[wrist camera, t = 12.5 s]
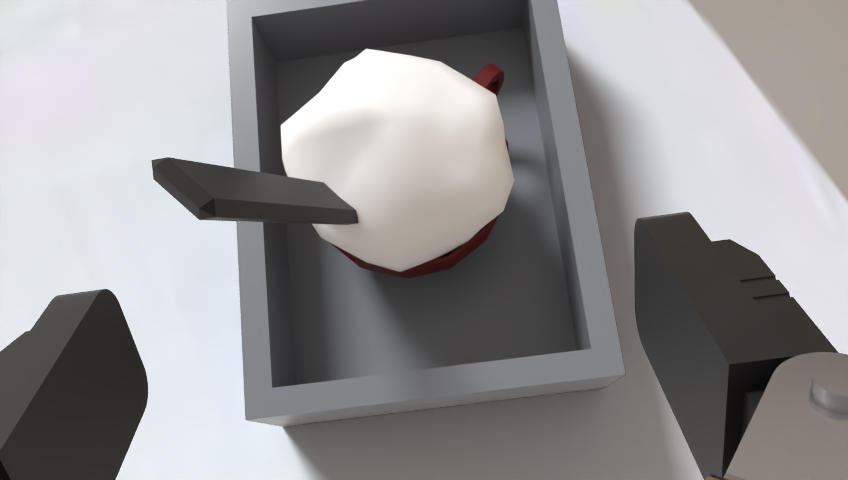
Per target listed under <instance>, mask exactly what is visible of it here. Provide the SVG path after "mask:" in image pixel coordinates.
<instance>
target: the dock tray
mask: <svg viewBox="0 0 848 480" xmlns="http://www.w3.org/2000/svg"><path fill="white" fill-rule="evenodd" d="M226 1H227V23H228V45H229V67H230V89H231V111H232V133H233V155H234V168H237V169H243V170H249V171H255V172H262V173H268V174H274V175H280V176H287V174H286V171H285V168H284V164H283V159H282V144H281V125H282V124H283V123H284V122H285V121H287V120H288V119H289V118H290V117H291V116H292V115H294V114H295V113H296V112H297V111H298V110H299V109H301V108H302V107H303V106H304V105H305V104H307V103H308V102H309V101H310V100H311V99H312V98H314V97H315V96H316V95H317V94H318V93H319V92H320V91H321V90H322V89H323V88H324V86H325V85H326V84H327V83H328V82H329V80H330V79H331V78H332V77H333V76H334V74H335V73H336V72H337V71H338V70H339V68H340V67H341V66H342V65H343V64H344V63H345V62H347V61H349V60H352V59H354V58H355V57H357V56H358V55H359V54H360V53H361V52H363V51H364V50H365V49H372V50H379V51H385V52H391V53H398V54H404V55H411V56H416V57H420V58H425V59H430V60H435V61H440V62H442V63H444V64H445V65H447V66H449V67H450V68H452V69H454V70H455V71H457V72H459V73H461V74H462V75H464V76H466V77H467V78H469V79H471V80H472V79H473V78H474V76H475V75H476V74H477V73H478V72H479V71H480V70H481V69H482V68H483V67H484V66H485V65H487V64H491V63H492V64H494V65H496V66H498V67H499V68H500V69H501V70H502V71H503V72H504V81H503V83H502V86H501V89H500V91H499V93H498V95H497V97H496V98H497V102H498V105H499V109H500V113H501V117H502V120H503V124H504V133H505V138H506V140H507V141H508V154H509V159H510V163H511V167H512V172H513V176H514V183H513V186H512V188H511V191H510V194H509V197H508V200H507V202H506V205H505V208H504V211H503V212H502V213H500V214H499V216H498V218H497V220H496V222H495V224H494V226H493V228H492V230H491V232H490V234H489V236H488V238H487V240H486V241H485V242H484V243H483V244H481V245H480V246H479V247H478V248H476V249H475V250H474V251H472V252H471V253H470V254H469V255H467V256H466V257H465V258H463V259H462V260H461V261H460V262H458V263H457V264H456V265H454V266H453V267H452V268H451V269H448V270H443V271H439V272H435V273H430V274H426V275H421V276H417V277H413V278H404V277H399V276H395V275H390V274H385V273H381V272H376V271H372V270H367V269H363V268H360V267H359V266H358V265H357V264H355V263H354V262H353V261H352V260H350V259H349V258H348V257H347V256H345V255H344V254H343V253H342V252H340V251H339V250H338V249H337V248H335V247H334V246H333V245H332V244H330V243H329V242H328V241H326V240H324V239H323V238H321V237H320V235H319V234H318V232H317V231H316V229H315V228H314V226H313V225H312V224H305V223H277V222H249V221H237V242H238V264H239V286H240V308H241V330H242V352H243V374H244V396H245V418H246V420H248V421H253V422H259V423H265V424H271V425H276V426H291V425H299V424H307V423H316V422H324V421H332V420H341V419H349V418H357V417H365V416H374V415H382V414H390V413H399V412H407V411H415V410H424V409H432V408H440V407H449V406H457V405H465V404H474V403H482V402H490V401H499V400H507V399H515V398H524V397H532V396H540V395H549V394H557V393H565V392H574V391H582V390H590V389H599V388H605V387H607V386H608V385H610V384H611V383H613V382H614V381H616V380H617V379H619V378H621V377H622V376H624V375H625V369H624V363H623V358H622V352H621V347H620V341H619V336H618V330H617V325H616V320H615V314H614V309H613V303H612V298H611V292H610V287H609V281H608V276H607V271H606V265H605V260H604V254H603V249H602V243H601V238H600V232H599V227H598V222H597V216H596V211H595V205H594V200H593V194H592V189H591V183H590V178H589V172H588V167H587V162H586V156H585V151H584V145H583V140H582V134H581V129H580V123H579V118H578V113H577V107H576V102H575V96H574V91H573V85H572V80H571V74H570V69H569V64H568V58H567V53H566V47H565V42H564V36H563V31H562V25H561V20H560V15H559V9H558V4H557V0H226ZM287 177H288V176H287Z"/></svg>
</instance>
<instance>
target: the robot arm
mask: <svg viewBox="0 0 848 480" xmlns="http://www.w3.org/2000/svg"><path fill="white" fill-rule="evenodd" d="M634 262H635V314H636V322H637V327H638V332H639V336H640V339H641V343H642V345H643V348H644V350H645V352H646V354H647V356H648V359H649V361H650V363H651V365H652V367H653V370H654V372H655V374H656V376H657V378H658V380H659V383H660V385H661V387H662V389H663V391H664V393H665V396H666V398H667V400H668V402H669V404H670V406H671V409H672V411H673V413H674V415H675V417H676V419H677V422H678V424H679V426H680V428H681V430H682V433H683V435H684V437H685V439H686V441H687V443H688V446H689V448H690V450H691V452H692V454H693V456H694V459H695V461H696V463H697V465H698V467H699V469H700V472H701V474H702V476H703V478H704V480H848V355H847V354H842V353H838V352H837V350H836V349H835V348H834V347H833V346H832V344H831V343H830V342H829V341H828V339H827V338H826V337H825V336H824V335H823V333H822V332H821V331H820V330H819V328H818V327H817V326H816V325H815V324H814V322H813V321H812V320H811V319H810V317H809V316H808V315H807V314H806V313H805V311H804V310H803V309H802V308H801V306H800V305H799V304H798V303H797V302H796V300H795V299H794V298H793V297H790V296H789V292H788V291H787V289H786V288H785V287H784V286H783V284H782V283H781V282H780V281H779V280H776V278H775V275H774V273H773V272H772V271H771V270H770V269H769V267H768V266H767V265H766V264H765V262H764V261H763V260H762V259H761V257H760V256H759V255H757V254H756V253H754V252H752V251H750V250H748V249H747V248H745V247H743V246H741V245H739V244H737V243H736V242H734V241H732V240H730V239H728V240H721V241H713V242H711V240H710V239H709V238H708V236H707V235H706V234H705V232H704V231H703V229H702V228H701V227H700V225H699V224H698V223H697V221H696V220H695V219H694V217H693V216H692V215H691V214H690V213H689V212H683V213H675V214H668V215H660V216H653V217H645V218H639V219H637V221H636V223H635V230H634ZM147 398H148V382H147V376H146V371H145V368H144V365H143V363H142V360H141V358H140V355H139V353H138V350H137V348H136V345H135V342H134V340H133V337H132V335H131V332H130V330H129V327H128V325H127V322H126V319H125V317H124V314H123V312H122V309H121V307H120V304H119V302H118V300H117V298H116V296H115V295H114V294H113V293H112V292H111V291H110V290H108V289H102V290H95V291H87V292H80V293H73V294H65V295H59V296H56V297H55V298H54V299H53V300H52V301H51V302H50V304H49V305H48V307H47V308H46V309H45V311H44V312H43V314H42V315H41V316H40V318H39V319H38V321H37V322H36V323H35V325H34V326H33V328H32V329H31V330H30V331H27V332H25V333H23V334H22V335H21V336H20V337H18V338H17V339H16V340H15V341H13V342H12V343H11V344H9V345H8V346H7V347H6V348H4V349H3V350H2V351H1V352H0V480H115V479H116V477H117V475H118V472H119V470H120V468H121V465H122V463H123V460H124V458H125V456H126V453H127V451H128V449H129V446H130V444H131V442H132V439H133V437H134V435H135V432H136V430H137V427H138V425H139V423H140V420H141V418H142V416H143V413H144V411H145V408H146V404H147Z"/></svg>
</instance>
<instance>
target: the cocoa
mask: <svg viewBox="0 0 848 480" xmlns="http://www.w3.org/2000/svg"><path fill="white" fill-rule="evenodd" d="M503 81H504V72H503V71H502V70H501V69H500V68H499V67H498V66H496V65H494V64H492V63H491V64H487V65H485V66H484V67H483V68H482V69H481V70H480V71H479V72H478V73H477V74H476V75H475V76H474V78H473V79H472V80H471V79H469V78H467V77H466V76H464V75H462V74H461V73H459V72H457V71H455V70H454V69H452V68H450V67H449V66H447V65H445V64H444V63H442V62H440V61H435V60H430V59H425V58H420V57H416V56H411V55H404V54H398V53H391V52H385V51H379V50H372V49H365V50H364V51H363V52H361V53H360V54H359V55H358V56H357V57H355V58H354V59H352V60H349V61H347V62H345V63H344V64H343V65H342V66H341V67H340V68H339V70H338V71H337V72H336V73H335V74H334V76H333V77H332V78H331V79H330V80H329V82H328V83H327V84H326V85H325V86H324V88H323V89H322V90H321V91H320V92H319V93H318V94H317V95H316V96H315V97H314V98H312V99H311V100H310V101H309V102H308V103H307V104H305V105H304V106H303V107H302V108H301V109H299V110H298V111H297V112H296V113H295V114H294V115H292V116H291V117H290V118H289V119H288V120H287V121H285V122H284V123H283V124H282V125H281V144H282V159H283V164H284V168H285V171H286V174H287V176H288V177H287V176H280V175H274V174H268V173H262V172H255V171H249V170H243V169H237V168H230V167H224V166H218V165H212V164H205V163H199V162H193V161H187V160H180V159H174V158H162V159H156V160H152V168H153V178H154V180H155V181H156V182H158V183H159V184H160V185H161V186H162V187H163V188H164V189H165V190H166V191H168V192H169V193H170V194H171V195H172V196H173V197H174V198H175V199H177V200H178V201H179V202H180V203H181V204H182V205H183V206H184V207H186V208H187V209H188V210H189V211H190V212H191V213H192V214H193V215H195V216H196V217H197V218H198V219H199V220H221V221H249V222H277V223H305V224H312V225H313V226H314V228H315V229H316V231H317V232H318V234H319V235H320V237H321V238H323V239H324V240H326V241H328V242H329V243H330V244H332V245H333V246H334V247H335V248H337V249H338V250H339V251H340V252H342V253H343V254H344V255H345V256H347V257H348V258H349V259H350V260H352V261H353V262H354V263H355V264H357V265H358V266H359V267H360V268H363V269H367V270H372V271H376V272H381V273H385V274H390V275H395V276H399V277H404V278H413V277H417V276H421V275H426V274H430V273H435V272H439V271H443V270H448V269H451V268H452V267H453V266H454V265H456V264H457V263H458V262H460V261H461V260H462V259H463V258H465V257H466V256H467V255H469V254H470V253H471V252H472V251H474V250H475V249H476V248H478V247H479V246H480V245H481V244H483V243H484V242H485V241H486V240H487V238H488V236H489V234H490V232H491V230H492V228H493V226H494V224H495V222H496V220H497V218H498V216H499V214H500V213H502V212H503V211H504V208H505V205H506V202H507V200H508V197H509V194H510V191H511V188H512V186H513V183H514V176H513V172H512V167H511V163H510V159H509V154H508V141H507V140H506V138H505V133H504V124H503V120H502V117H501V113H500V109H499V105H498V102H497V98H496V97H497V95H498V93H499V91H500V89H501V86H502V83H503Z"/></svg>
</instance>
